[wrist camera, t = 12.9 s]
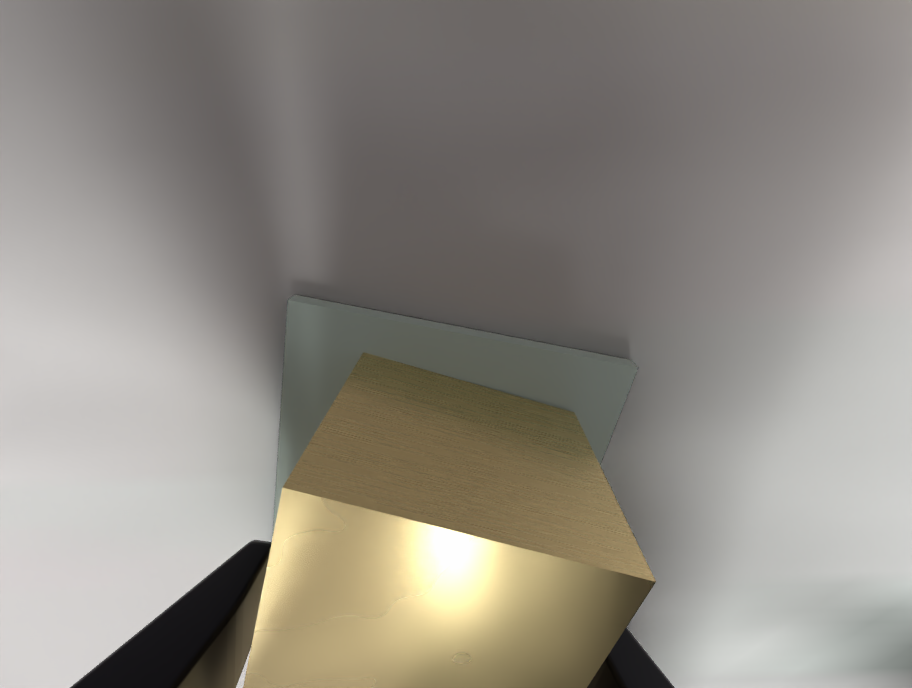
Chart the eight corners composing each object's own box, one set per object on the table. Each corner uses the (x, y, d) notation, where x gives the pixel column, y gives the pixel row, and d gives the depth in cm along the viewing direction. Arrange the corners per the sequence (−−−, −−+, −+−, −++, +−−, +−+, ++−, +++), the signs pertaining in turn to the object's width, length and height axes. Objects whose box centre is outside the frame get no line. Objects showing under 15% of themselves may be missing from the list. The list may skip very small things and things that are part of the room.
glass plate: (530, 620, 12) (533, 635, 11) (275, 583, 11) (268, 597, 11) (630, 359, 9) (638, 367, 9) (294, 294, 8) (287, 300, 8)
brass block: (483, 607, 11) (493, 830, 7) (310, 566, 10) (225, 779, 7) (574, 412, 9) (655, 581, 5) (363, 352, 8) (282, 488, 5)
